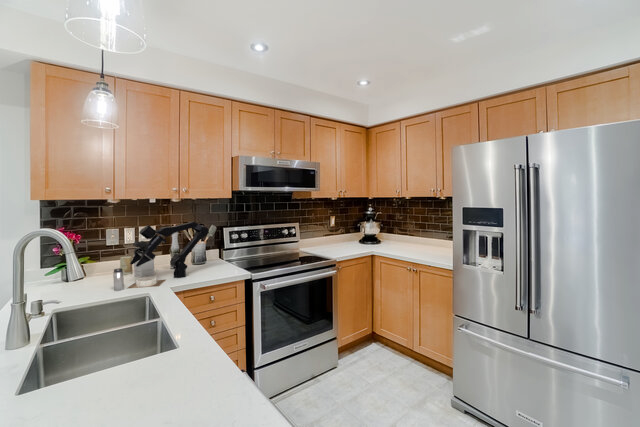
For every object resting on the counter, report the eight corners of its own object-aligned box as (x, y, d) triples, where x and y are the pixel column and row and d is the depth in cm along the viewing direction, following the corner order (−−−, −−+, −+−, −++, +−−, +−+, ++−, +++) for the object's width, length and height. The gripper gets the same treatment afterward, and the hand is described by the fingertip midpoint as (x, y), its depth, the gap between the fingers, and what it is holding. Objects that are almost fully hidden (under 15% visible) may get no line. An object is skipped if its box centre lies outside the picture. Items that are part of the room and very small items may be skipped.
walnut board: (166, 280, 184) (166, 279, 184) (158, 287, 169) (158, 286, 169) (136, 282, 180) (136, 281, 180) (126, 289, 165) (126, 288, 165)
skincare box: (120, 275, 199) (119, 257, 199) (122, 274, 204) (121, 256, 203) (130, 274, 201) (130, 257, 201) (132, 273, 205) (132, 256, 205)
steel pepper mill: (125, 289, 166) (124, 267, 165) (121, 292, 161) (120, 269, 161) (116, 290, 165) (115, 268, 164) (112, 292, 160) (111, 270, 160)
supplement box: (147, 273, 204) (146, 252, 203) (154, 275, 199) (154, 253, 199) (133, 276, 196) (132, 254, 195) (141, 278, 191) (140, 255, 191)
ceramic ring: (159, 280, 181) (159, 276, 180) (153, 285, 170) (153, 280, 170) (140, 282, 178) (140, 277, 178) (132, 287, 168) (132, 282, 167)
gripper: (136, 234, 178) (116, 255, 170) (148, 236, 166) (127, 259, 158) (151, 245, 184) (132, 266, 176) (163, 248, 172) (143, 270, 164)
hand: (133, 265), depth 169 cm, fingers open, 9 cm apart
